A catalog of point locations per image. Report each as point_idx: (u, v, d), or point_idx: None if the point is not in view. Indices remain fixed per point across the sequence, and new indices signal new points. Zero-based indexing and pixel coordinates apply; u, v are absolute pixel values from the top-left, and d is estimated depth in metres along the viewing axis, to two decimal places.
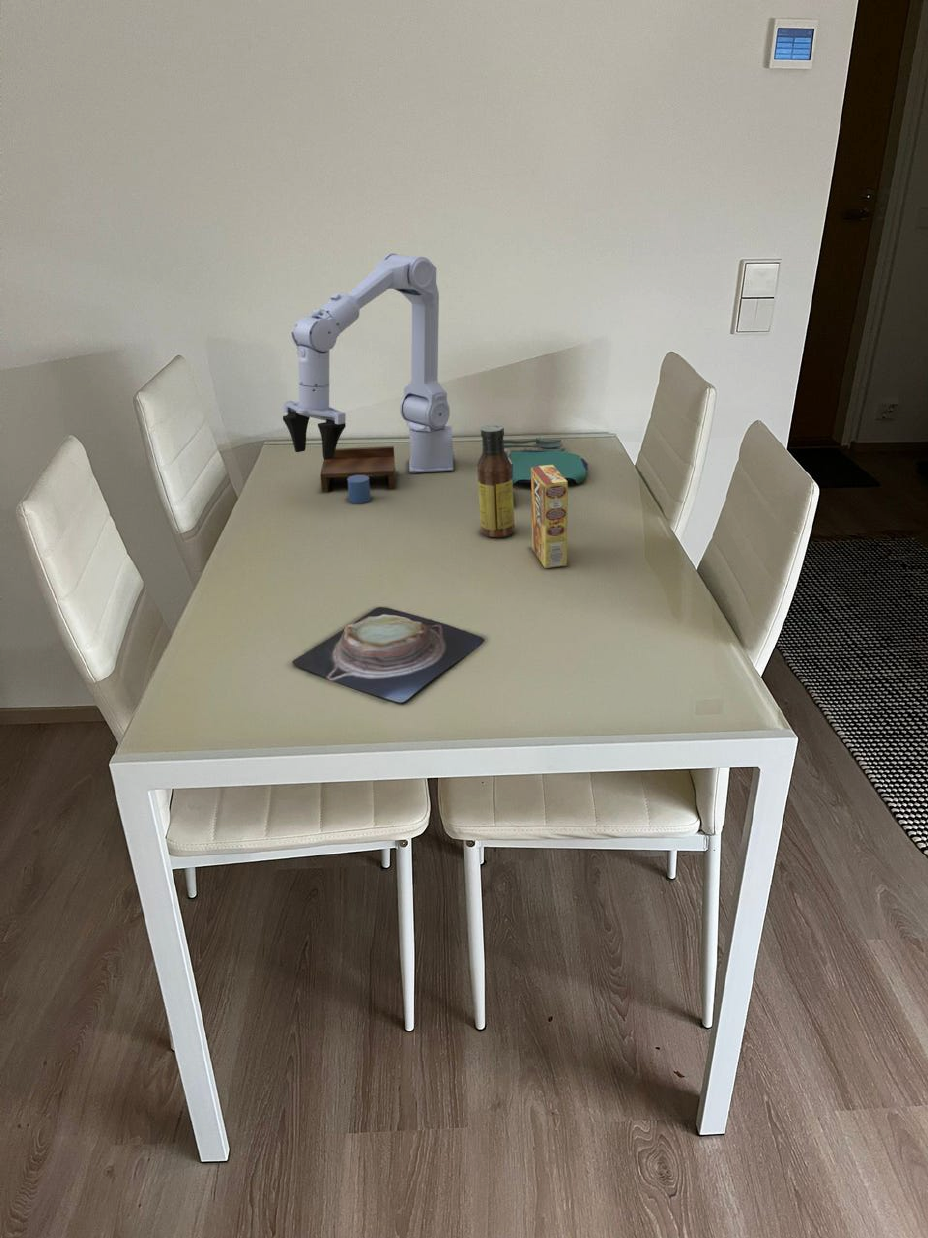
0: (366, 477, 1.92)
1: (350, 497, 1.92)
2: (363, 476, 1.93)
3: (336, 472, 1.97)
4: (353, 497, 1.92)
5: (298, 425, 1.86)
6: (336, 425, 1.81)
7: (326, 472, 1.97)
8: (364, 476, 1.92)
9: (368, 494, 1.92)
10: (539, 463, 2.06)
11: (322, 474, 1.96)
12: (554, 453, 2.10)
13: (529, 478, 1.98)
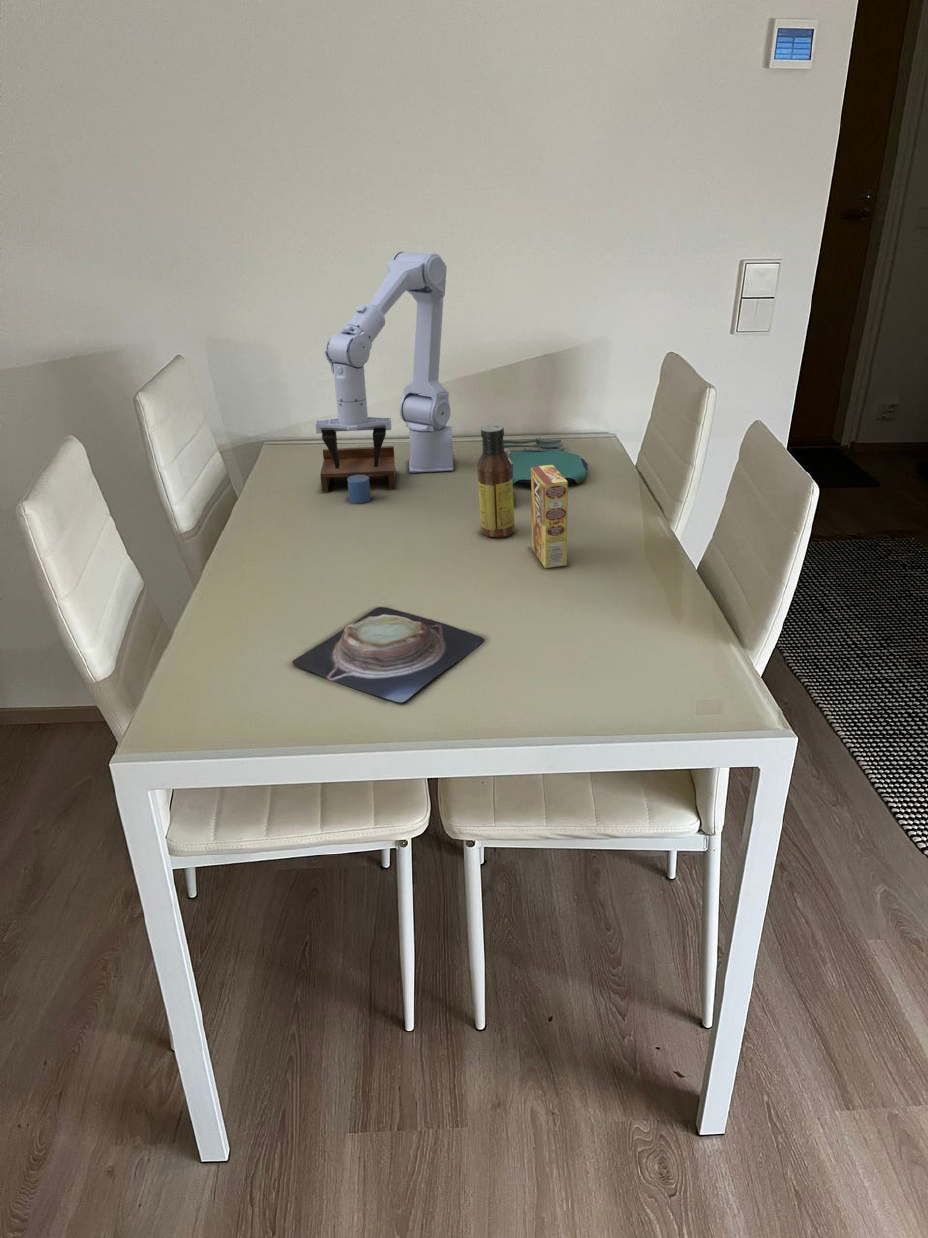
0: (366, 477, 1.92)
1: (350, 497, 1.92)
2: (363, 476, 1.93)
3: (336, 472, 1.97)
4: (353, 497, 1.92)
5: (335, 442, 1.87)
6: (385, 431, 1.87)
7: (326, 472, 1.97)
8: (364, 476, 1.92)
9: (368, 494, 1.92)
10: (539, 463, 2.06)
11: (322, 474, 1.96)
12: (554, 453, 2.10)
13: (529, 478, 1.98)
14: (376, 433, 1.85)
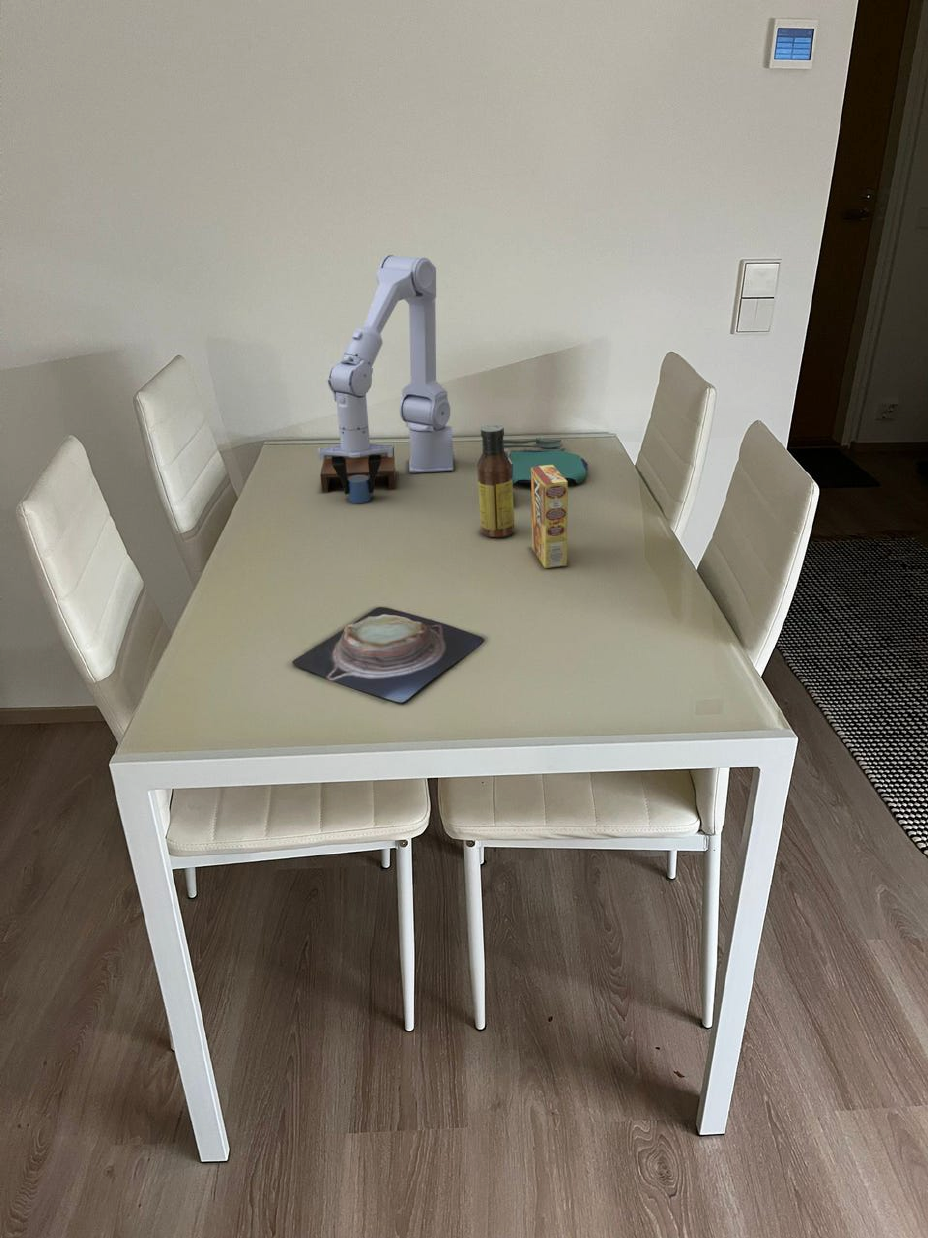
0: (366, 477, 1.92)
1: (350, 497, 1.92)
2: (363, 476, 1.93)
3: None
4: (353, 497, 1.92)
5: (345, 468, 1.90)
6: None
7: (326, 472, 1.97)
8: (364, 476, 1.92)
9: (368, 494, 1.92)
10: (539, 463, 2.06)
11: (322, 474, 1.96)
12: (554, 453, 2.10)
13: (529, 478, 1.98)
14: (371, 460, 1.88)
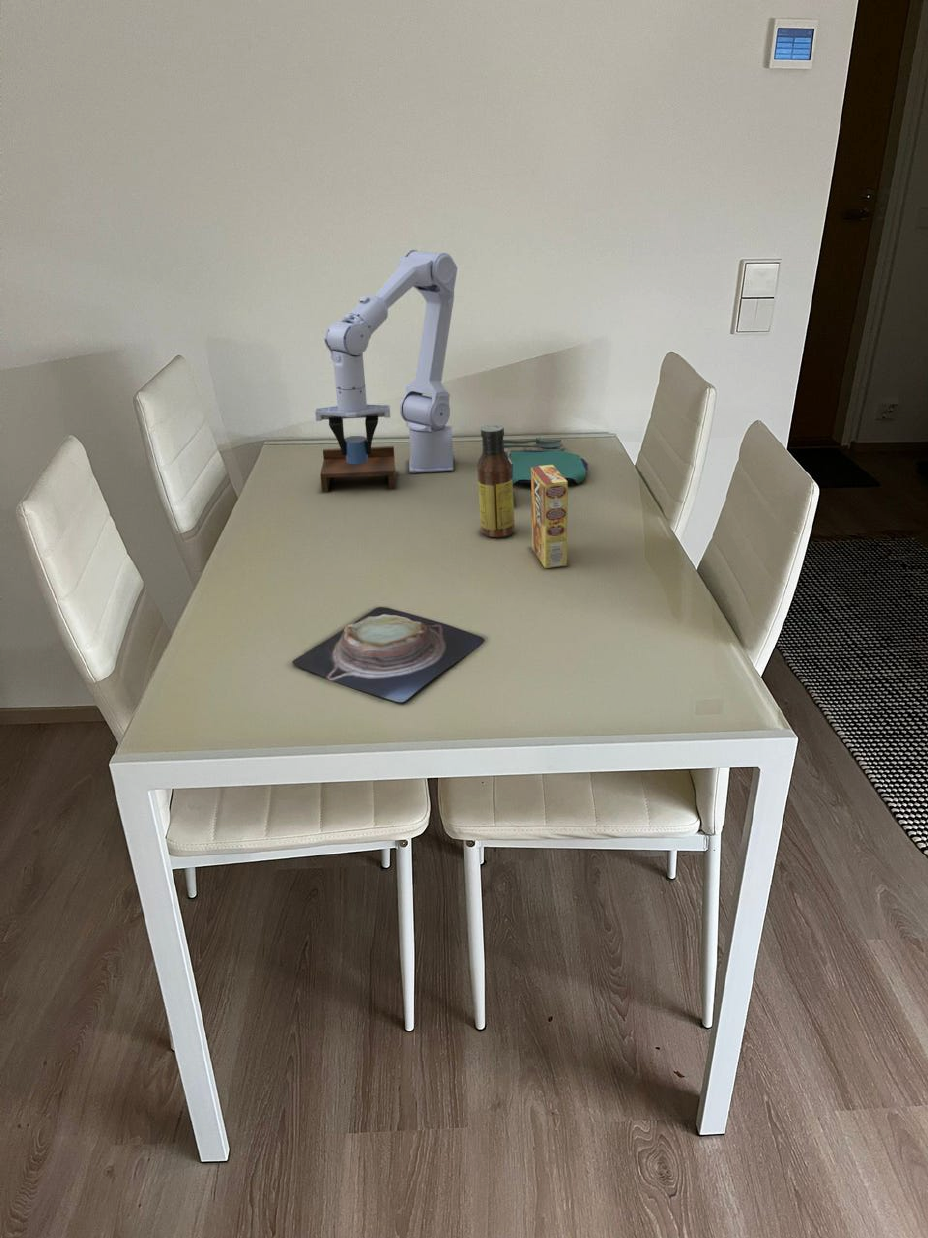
0: (363, 438, 1.92)
1: (347, 458, 1.92)
2: (360, 437, 1.92)
3: (336, 472, 1.97)
4: (350, 458, 1.91)
5: (342, 429, 1.90)
6: None
7: (326, 472, 1.97)
8: (361, 437, 1.92)
9: (365, 455, 1.92)
10: (539, 463, 2.06)
11: (322, 474, 1.96)
12: (554, 453, 2.10)
13: (529, 478, 1.98)
14: (368, 420, 1.88)
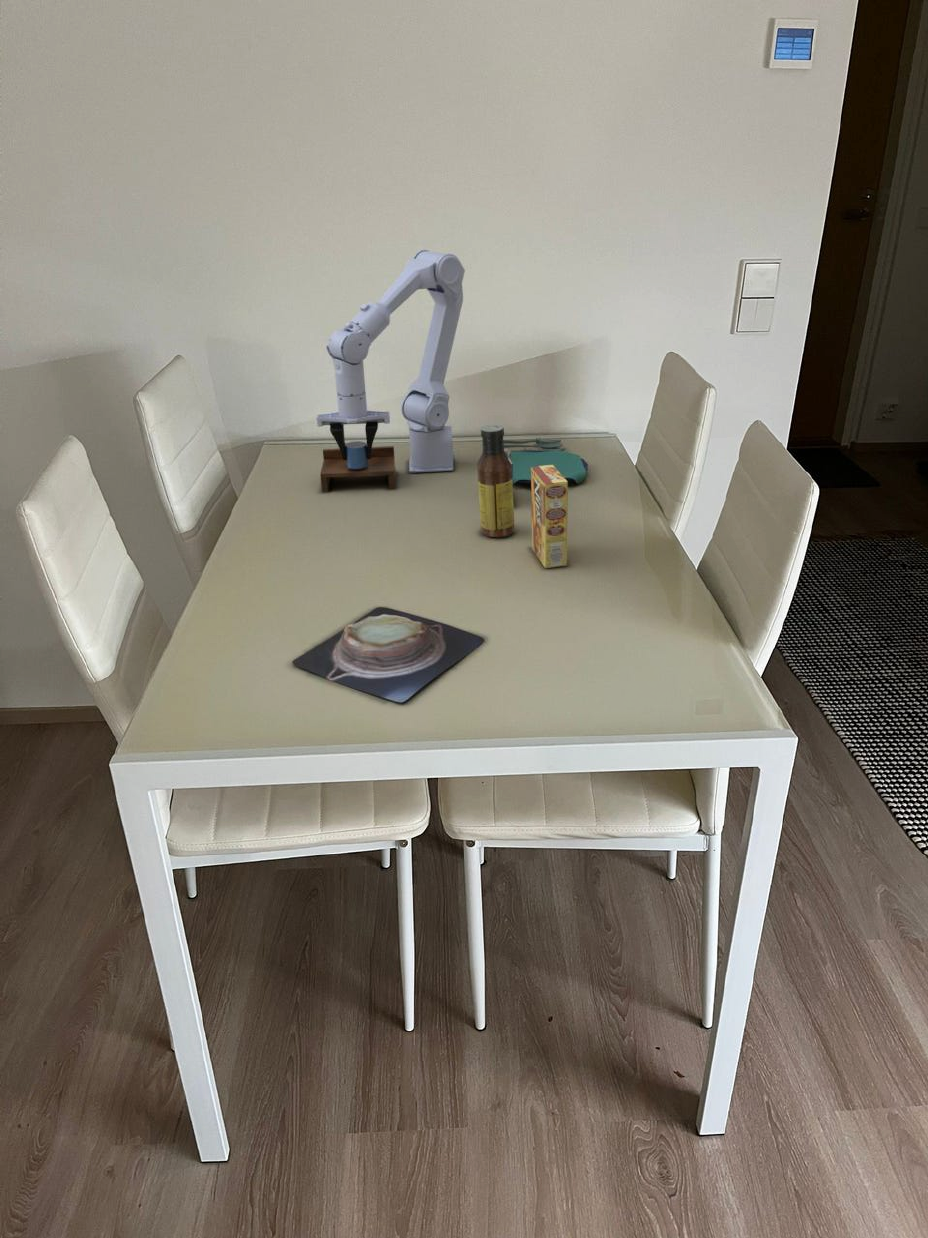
0: (363, 443, 1.97)
1: (348, 463, 1.97)
2: (361, 442, 1.97)
3: (336, 472, 1.97)
4: (351, 463, 1.96)
5: (343, 435, 1.95)
6: (377, 425, 1.94)
7: (326, 472, 1.97)
8: (361, 442, 1.97)
9: (365, 460, 1.97)
10: (539, 463, 2.06)
11: (322, 474, 1.96)
12: (554, 453, 2.10)
13: (529, 478, 1.98)
14: (368, 426, 1.93)
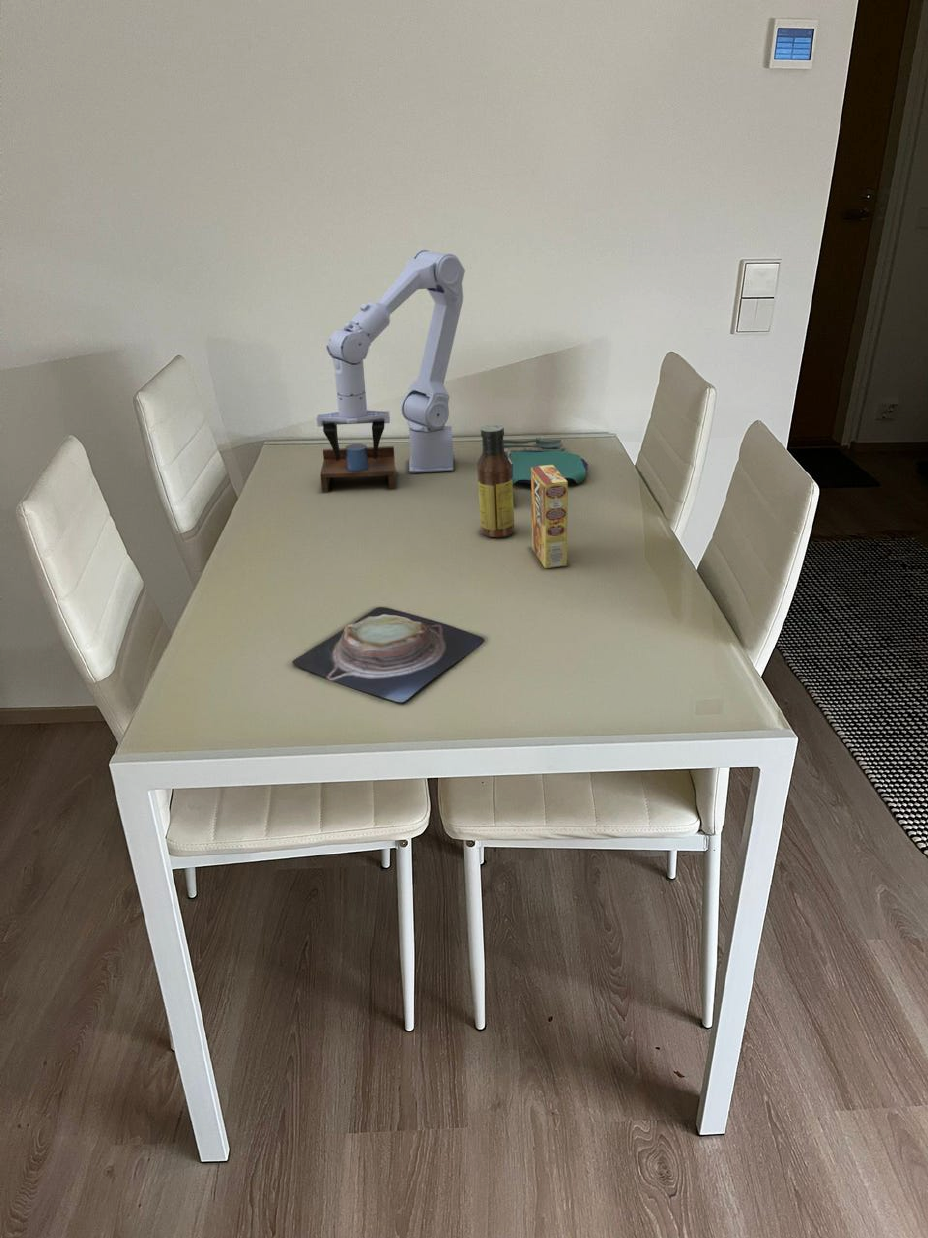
0: (364, 445, 1.97)
1: (348, 465, 1.97)
2: (361, 445, 1.97)
3: (336, 472, 1.97)
4: (351, 465, 1.96)
5: (336, 435, 1.95)
6: (384, 424, 1.94)
7: (326, 472, 1.97)
8: (362, 445, 1.97)
9: (366, 462, 1.97)
10: (539, 463, 2.06)
11: (322, 474, 1.96)
12: (554, 453, 2.10)
13: (529, 478, 1.98)
14: (375, 426, 1.93)
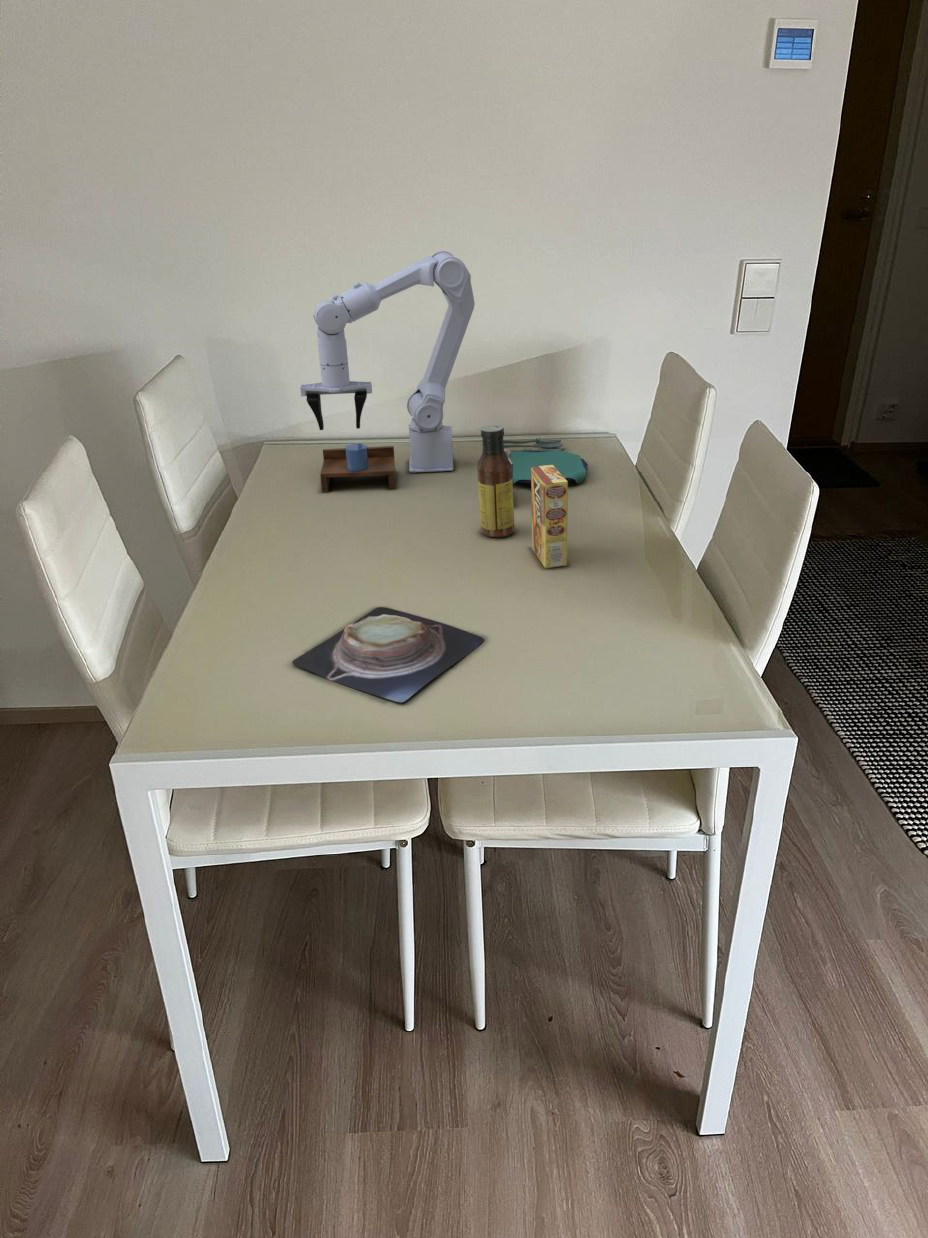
0: (364, 445, 1.97)
1: (348, 465, 1.97)
2: (361, 445, 1.97)
3: (336, 472, 1.97)
4: (351, 465, 1.96)
5: (319, 405, 1.99)
6: (366, 394, 1.99)
7: (326, 472, 1.97)
8: (362, 445, 1.97)
9: (366, 462, 1.97)
10: (539, 463, 2.06)
11: (322, 474, 1.96)
12: (554, 453, 2.10)
13: (529, 478, 1.98)
14: (357, 396, 1.97)
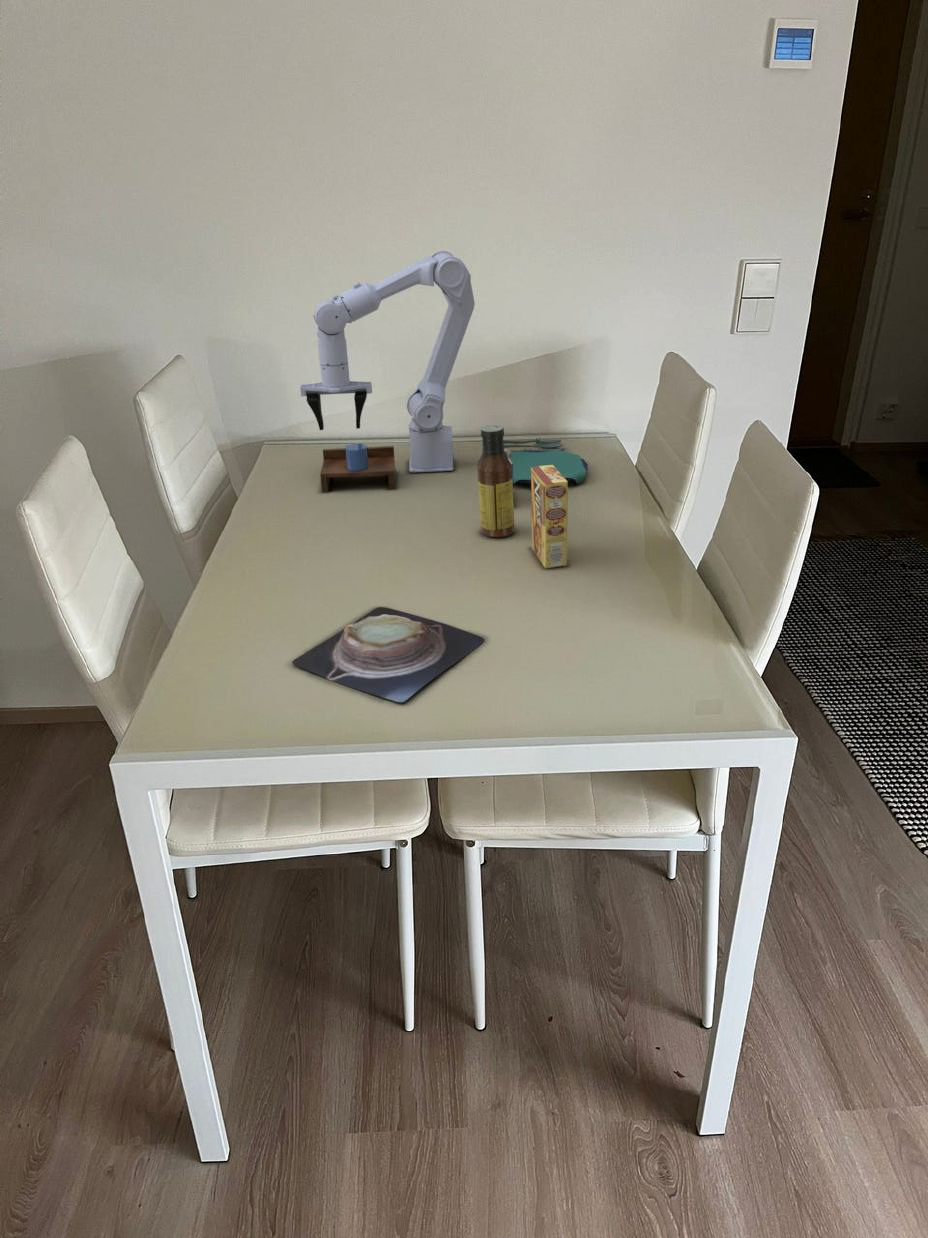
0: (364, 445, 1.97)
1: (348, 465, 1.97)
2: (361, 445, 1.97)
3: (336, 472, 1.97)
4: (351, 465, 1.96)
5: (319, 405, 1.99)
6: (366, 394, 1.99)
7: (326, 472, 1.97)
8: (362, 445, 1.97)
9: (366, 462, 1.97)
10: (539, 463, 2.06)
11: (322, 474, 1.96)
12: (554, 453, 2.10)
13: (529, 478, 1.98)
14: (357, 396, 1.97)
